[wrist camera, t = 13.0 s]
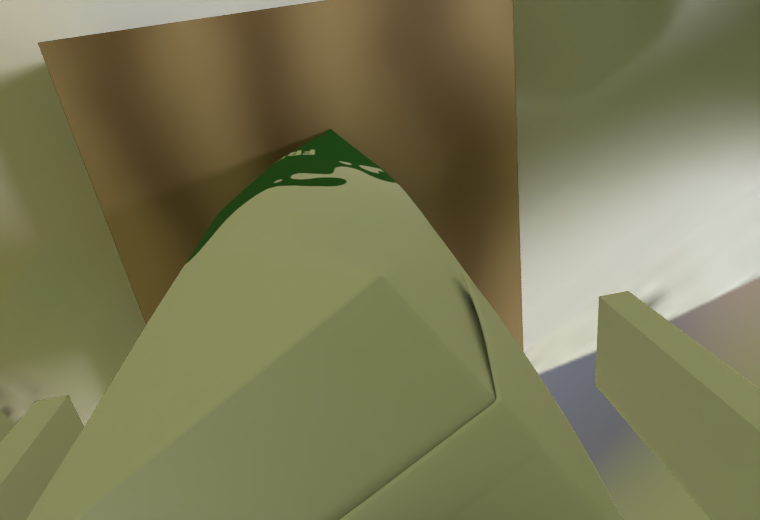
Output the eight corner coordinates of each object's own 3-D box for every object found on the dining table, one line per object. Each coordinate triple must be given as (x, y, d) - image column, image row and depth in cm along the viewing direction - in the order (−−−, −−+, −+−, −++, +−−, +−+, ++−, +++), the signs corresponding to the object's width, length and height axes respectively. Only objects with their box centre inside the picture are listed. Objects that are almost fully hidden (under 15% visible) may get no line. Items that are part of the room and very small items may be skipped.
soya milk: (319, 337, 26) (334, 968, 8) (192, 218, 23) (-284, 827, 5) (445, 237, 25) (810, 710, 7) (330, 95, 22) (428, 265, 3)
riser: (476, -11, 25) (511, -27, 21) (494, 316, 33) (523, 356, 29) (90, 46, 24) (37, 42, 20) (203, 372, 32) (184, 424, 27)
